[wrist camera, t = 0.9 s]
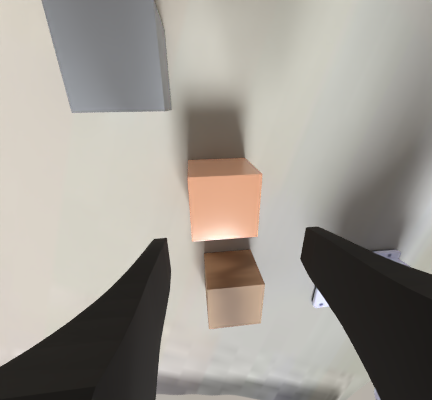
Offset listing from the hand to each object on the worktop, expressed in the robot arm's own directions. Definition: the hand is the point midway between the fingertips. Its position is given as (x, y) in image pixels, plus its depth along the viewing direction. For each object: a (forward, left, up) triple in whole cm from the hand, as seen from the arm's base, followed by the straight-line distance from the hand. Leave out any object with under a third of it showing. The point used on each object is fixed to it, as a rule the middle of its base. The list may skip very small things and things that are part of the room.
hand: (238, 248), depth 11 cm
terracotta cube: (0, 0, -10) cm, 10 cm away
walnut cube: (-1, +10, -10) cm, 14 cm away
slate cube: (+6, -9, -10) cm, 14 cm away
